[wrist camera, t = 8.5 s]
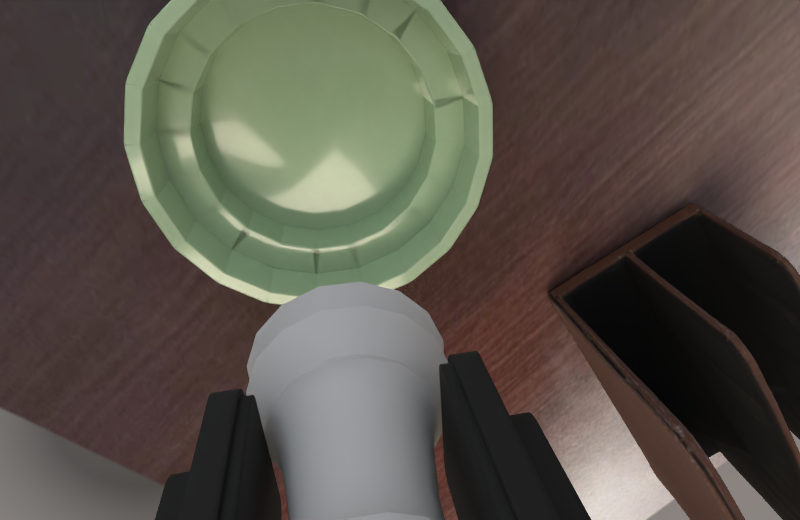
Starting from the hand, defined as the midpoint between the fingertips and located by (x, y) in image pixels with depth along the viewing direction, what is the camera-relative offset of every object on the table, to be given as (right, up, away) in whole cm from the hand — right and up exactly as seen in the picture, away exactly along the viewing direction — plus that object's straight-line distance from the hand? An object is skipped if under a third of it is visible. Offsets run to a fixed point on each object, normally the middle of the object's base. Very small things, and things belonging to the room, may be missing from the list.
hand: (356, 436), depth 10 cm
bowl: (-3, +10, +16) cm, 19 cm away
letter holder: (+19, -3, +26) cm, 32 cm away
